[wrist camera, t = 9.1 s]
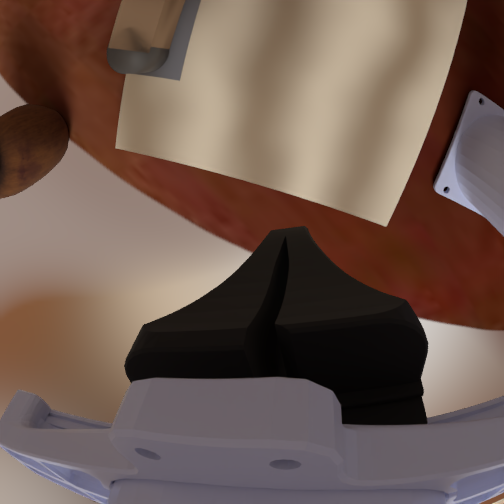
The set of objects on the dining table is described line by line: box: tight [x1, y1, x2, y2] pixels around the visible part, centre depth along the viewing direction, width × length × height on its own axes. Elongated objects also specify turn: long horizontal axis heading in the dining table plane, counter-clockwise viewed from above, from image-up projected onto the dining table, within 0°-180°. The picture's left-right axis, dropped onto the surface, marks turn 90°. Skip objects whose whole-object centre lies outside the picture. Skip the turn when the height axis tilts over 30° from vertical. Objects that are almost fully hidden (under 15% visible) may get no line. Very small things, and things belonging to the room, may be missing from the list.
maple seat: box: [115, 0, 467, 226], centre depth 14 cm, size 18×20×3 cm
